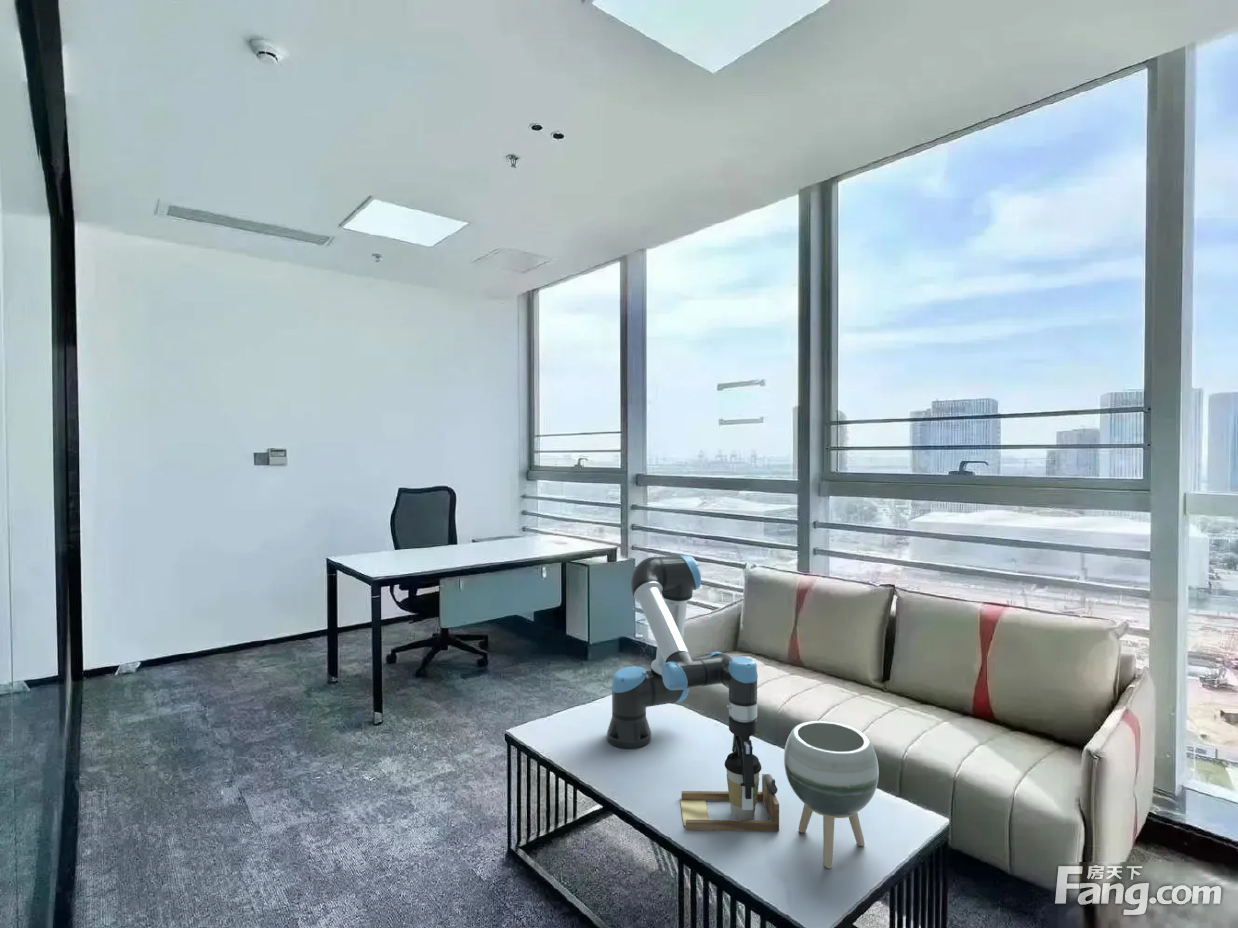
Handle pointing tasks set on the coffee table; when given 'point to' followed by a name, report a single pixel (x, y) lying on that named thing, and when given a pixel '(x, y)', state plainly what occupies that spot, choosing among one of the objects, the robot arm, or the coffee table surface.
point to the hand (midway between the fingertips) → (742, 795)
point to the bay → (697, 809)
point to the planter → (831, 775)
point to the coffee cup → (736, 789)
